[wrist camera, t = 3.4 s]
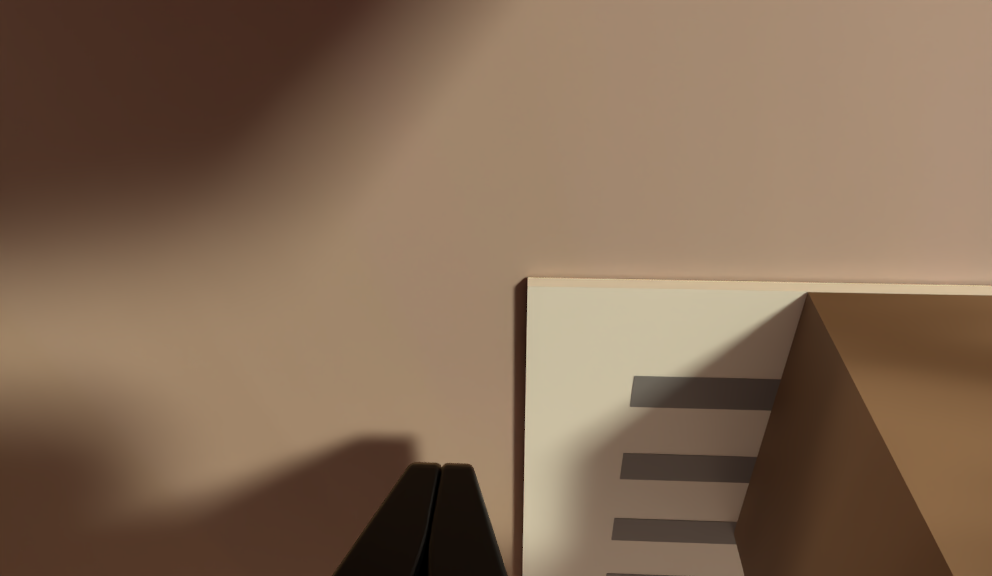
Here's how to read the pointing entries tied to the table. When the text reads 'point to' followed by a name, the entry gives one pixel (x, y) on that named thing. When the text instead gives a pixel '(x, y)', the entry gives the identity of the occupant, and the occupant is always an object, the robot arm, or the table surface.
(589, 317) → the letter
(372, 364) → the table surface
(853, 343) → the walnut block
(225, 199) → the table surface
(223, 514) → the table surface
